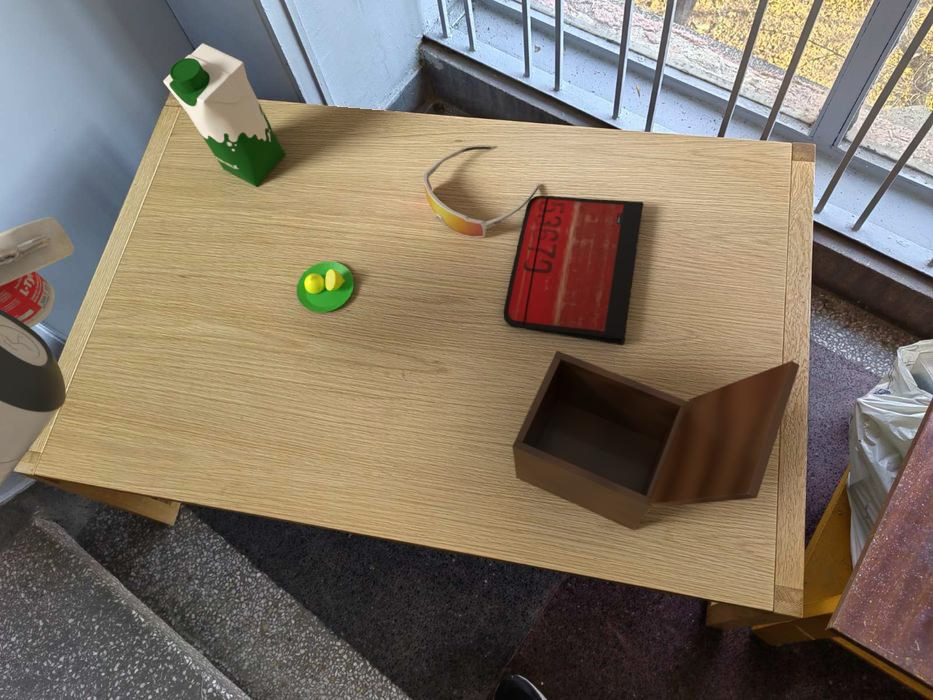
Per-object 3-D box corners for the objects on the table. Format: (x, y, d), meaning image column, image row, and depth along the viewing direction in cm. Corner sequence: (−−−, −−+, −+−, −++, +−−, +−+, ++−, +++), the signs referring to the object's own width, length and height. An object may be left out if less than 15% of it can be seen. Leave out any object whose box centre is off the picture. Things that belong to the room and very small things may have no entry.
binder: (644, 200, 92) (626, 339, 84) (642, 210, 94) (624, 346, 86) (527, 190, 96) (499, 322, 88) (528, 200, 98) (501, 330, 90)
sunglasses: (406, 199, 99) (404, 174, 95) (482, 150, 104) (483, 124, 100) (472, 257, 94) (472, 234, 90) (548, 203, 99) (552, 178, 95)
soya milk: (215, 171, 105) (148, 69, 87) (253, 131, 108) (195, 24, 90) (257, 194, 102) (196, 94, 84) (295, 152, 105) (244, 46, 87)
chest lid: (748, 493, 50) (757, 498, 50) (791, 360, 54) (800, 365, 54) (648, 504, 65) (656, 508, 65) (688, 398, 68) (695, 402, 69)
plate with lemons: (346, 256, 96) (341, 245, 94) (361, 303, 93) (356, 292, 90) (292, 274, 96) (286, 264, 93) (305, 322, 92) (298, 312, 90)
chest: (516, 477, 81) (512, 446, 69) (554, 394, 85) (556, 350, 73) (634, 530, 77) (651, 506, 65) (668, 440, 81) (691, 402, 69)
